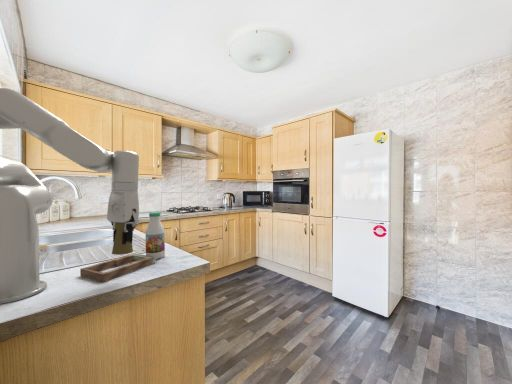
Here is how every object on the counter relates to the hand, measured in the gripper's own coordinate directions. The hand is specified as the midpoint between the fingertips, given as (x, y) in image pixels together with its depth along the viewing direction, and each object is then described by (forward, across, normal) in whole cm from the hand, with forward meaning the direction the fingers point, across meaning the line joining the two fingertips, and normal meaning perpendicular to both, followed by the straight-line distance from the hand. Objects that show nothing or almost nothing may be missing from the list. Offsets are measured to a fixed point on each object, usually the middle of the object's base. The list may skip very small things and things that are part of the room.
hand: (122, 242), depth 71 cm
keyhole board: (+13, -10, +6) cm, 17 cm away
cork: (+4, 0, 0) cm, 4 cm away
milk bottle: (+12, -10, +22) cm, 27 cm away
